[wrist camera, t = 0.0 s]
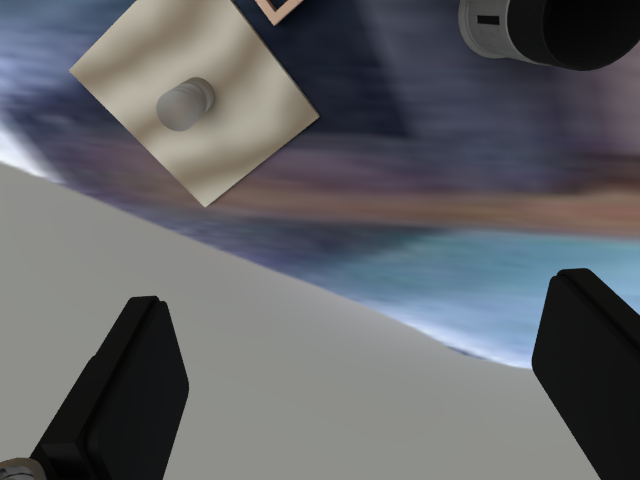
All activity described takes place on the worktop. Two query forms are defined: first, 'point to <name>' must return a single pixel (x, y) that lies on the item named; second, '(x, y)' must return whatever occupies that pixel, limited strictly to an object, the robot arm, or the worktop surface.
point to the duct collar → (279, 14)
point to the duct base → (196, 53)
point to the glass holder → (551, 30)
